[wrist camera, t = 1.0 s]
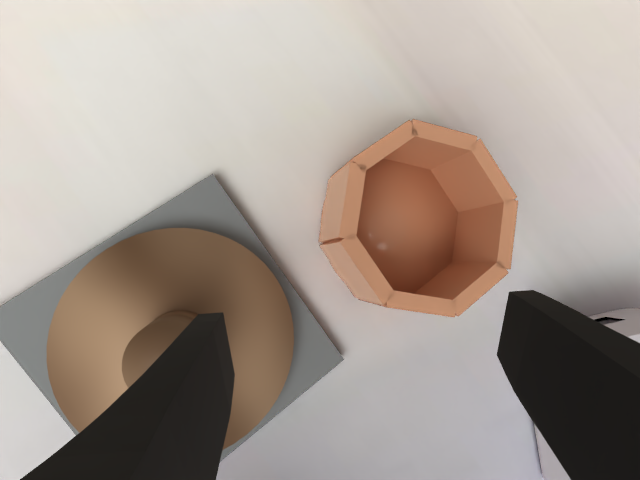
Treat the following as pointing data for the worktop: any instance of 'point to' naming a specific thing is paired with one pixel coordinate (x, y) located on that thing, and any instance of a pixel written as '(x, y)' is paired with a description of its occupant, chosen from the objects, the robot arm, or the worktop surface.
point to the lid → (168, 322)
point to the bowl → (420, 221)
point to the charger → (633, 325)
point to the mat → (181, 212)
